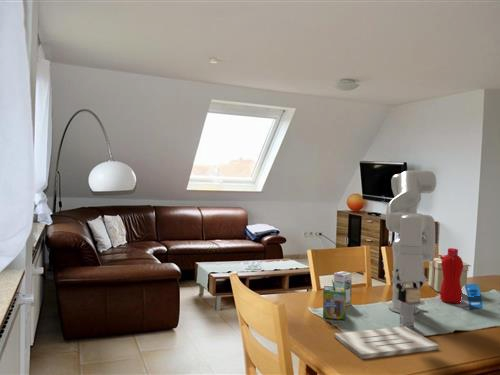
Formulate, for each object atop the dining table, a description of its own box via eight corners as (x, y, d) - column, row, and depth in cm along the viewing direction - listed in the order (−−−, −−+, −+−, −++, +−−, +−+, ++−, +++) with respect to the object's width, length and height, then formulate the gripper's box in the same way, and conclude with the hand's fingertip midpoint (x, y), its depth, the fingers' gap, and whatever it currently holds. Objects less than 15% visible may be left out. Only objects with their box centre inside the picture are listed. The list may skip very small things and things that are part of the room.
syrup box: (343, 307, 190) (344, 275, 189) (332, 304, 194) (333, 272, 194) (351, 304, 194) (352, 273, 193) (340, 301, 198) (341, 270, 198)
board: (404, 330, 164) (405, 326, 164) (438, 349, 147) (438, 345, 147) (334, 337, 155) (334, 333, 155) (361, 358, 138) (361, 354, 138)
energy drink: (413, 325, 169) (414, 295, 169) (414, 330, 164) (415, 299, 164) (399, 323, 171) (400, 293, 171) (399, 328, 166) (400, 297, 165)
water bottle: (440, 303, 199) (442, 249, 198) (439, 297, 209) (441, 246, 208) (462, 306, 195) (465, 251, 194) (460, 299, 205) (462, 247, 204)
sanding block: (396, 299, 156) (397, 285, 155) (407, 298, 157) (407, 284, 157) (409, 305, 149) (409, 290, 149) (420, 304, 150) (420, 290, 150)
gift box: (474, 294, 215) (476, 260, 214) (438, 293, 215) (439, 259, 214) (458, 285, 232) (460, 253, 231) (424, 284, 232) (425, 252, 231)
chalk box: (345, 320, 173) (346, 284, 172) (322, 318, 175) (323, 282, 174) (345, 313, 182) (346, 278, 181) (323, 311, 184) (324, 277, 183)
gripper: (422, 247, 158) (421, 296, 159) (383, 248, 153) (381, 299, 154) (437, 251, 151) (435, 302, 152) (396, 252, 146) (394, 305, 147)
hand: (408, 300), depth 153 cm, fingers closed on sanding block, 4 cm apart
